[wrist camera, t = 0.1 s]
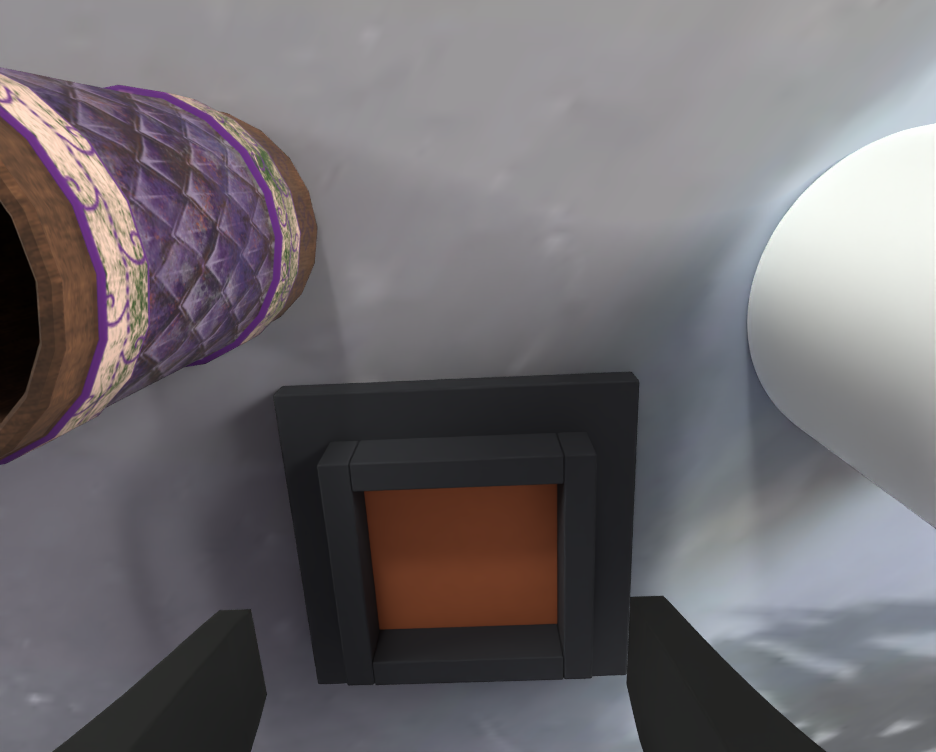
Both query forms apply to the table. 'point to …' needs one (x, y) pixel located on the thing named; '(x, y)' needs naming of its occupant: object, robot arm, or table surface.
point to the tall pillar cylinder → (858, 315)
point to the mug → (131, 245)
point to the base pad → (464, 525)
